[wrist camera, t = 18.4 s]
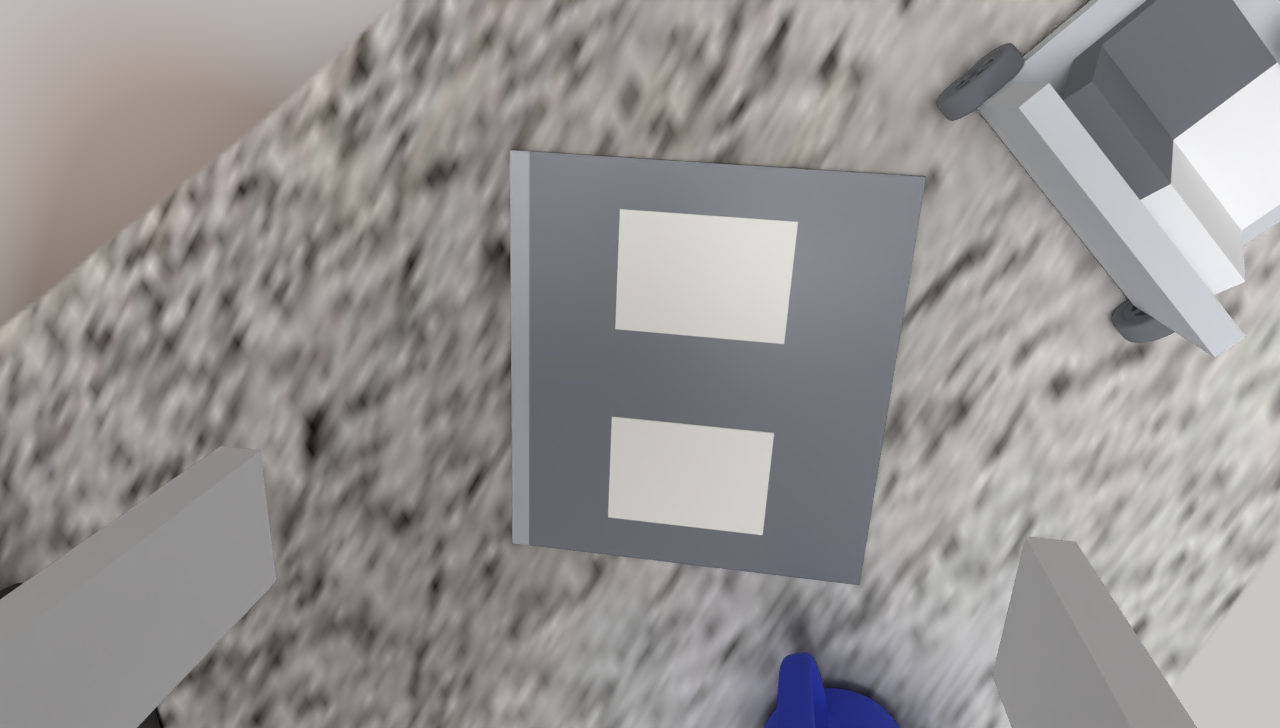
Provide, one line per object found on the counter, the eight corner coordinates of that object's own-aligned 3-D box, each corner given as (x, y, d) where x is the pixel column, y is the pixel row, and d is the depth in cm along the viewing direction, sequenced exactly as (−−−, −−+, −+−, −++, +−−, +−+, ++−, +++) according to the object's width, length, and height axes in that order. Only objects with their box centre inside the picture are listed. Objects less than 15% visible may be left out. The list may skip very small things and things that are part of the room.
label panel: (515, 537, 39) (512, 543, 39) (513, 149, 33) (509, 150, 33) (858, 579, 37) (859, 585, 37) (923, 175, 31) (926, 177, 31)
